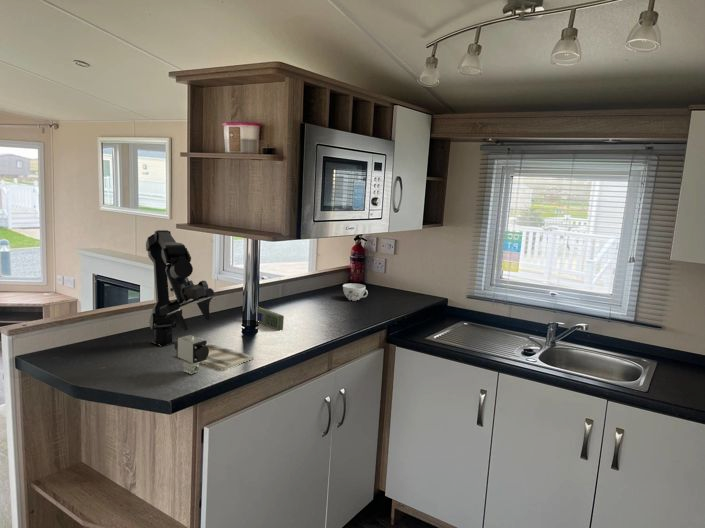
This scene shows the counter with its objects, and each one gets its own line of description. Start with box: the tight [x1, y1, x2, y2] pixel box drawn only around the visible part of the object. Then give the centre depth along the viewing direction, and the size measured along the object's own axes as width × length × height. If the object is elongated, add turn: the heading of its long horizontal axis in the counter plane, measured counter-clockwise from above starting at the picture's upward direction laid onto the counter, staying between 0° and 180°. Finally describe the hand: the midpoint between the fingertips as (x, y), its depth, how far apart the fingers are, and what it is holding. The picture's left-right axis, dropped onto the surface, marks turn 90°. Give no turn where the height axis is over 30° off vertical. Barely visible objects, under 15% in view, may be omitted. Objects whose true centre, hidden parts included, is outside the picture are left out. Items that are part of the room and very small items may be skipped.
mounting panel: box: [199, 342, 255, 371], centre depth 176 cm, size 22×14×2 cm, turn 59°
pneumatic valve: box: [173, 334, 209, 375], centre depth 161 cm, size 6×12×12 cm, turn 54°
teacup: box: [342, 282, 369, 302], centre depth 277 cm, size 15×12×8 cm
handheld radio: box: [258, 306, 285, 332], centre depth 221 cm, size 7×3×25 cm
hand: (197, 325), depth 167 cm, fingers open, 9 cm apart
